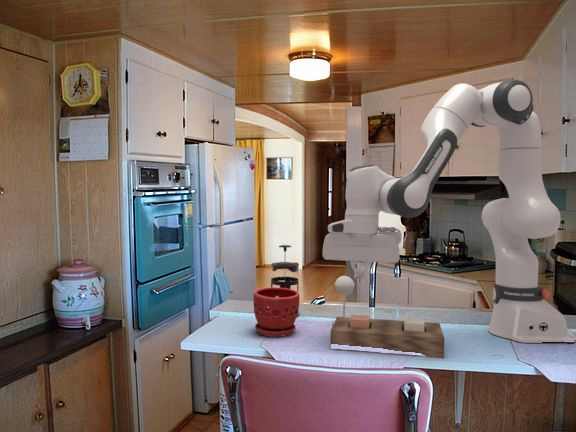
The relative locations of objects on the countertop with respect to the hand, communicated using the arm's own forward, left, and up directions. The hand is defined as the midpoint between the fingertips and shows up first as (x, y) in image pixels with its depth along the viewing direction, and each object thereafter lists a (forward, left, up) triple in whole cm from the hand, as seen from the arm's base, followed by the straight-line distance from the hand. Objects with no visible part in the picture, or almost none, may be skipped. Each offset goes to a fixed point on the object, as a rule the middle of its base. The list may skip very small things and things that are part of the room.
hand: (360, 277), depth 132 cm
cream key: (-14, 0, -14) cm, 20 cm away
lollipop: (+6, -17, -18) cm, 25 cm away
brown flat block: (-7, 0, -18) cm, 19 cm away
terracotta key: (0, 0, -14) cm, 14 cm away
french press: (+26, -24, -18) cm, 40 cm away
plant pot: (+24, -4, -18) cm, 30 cm away
